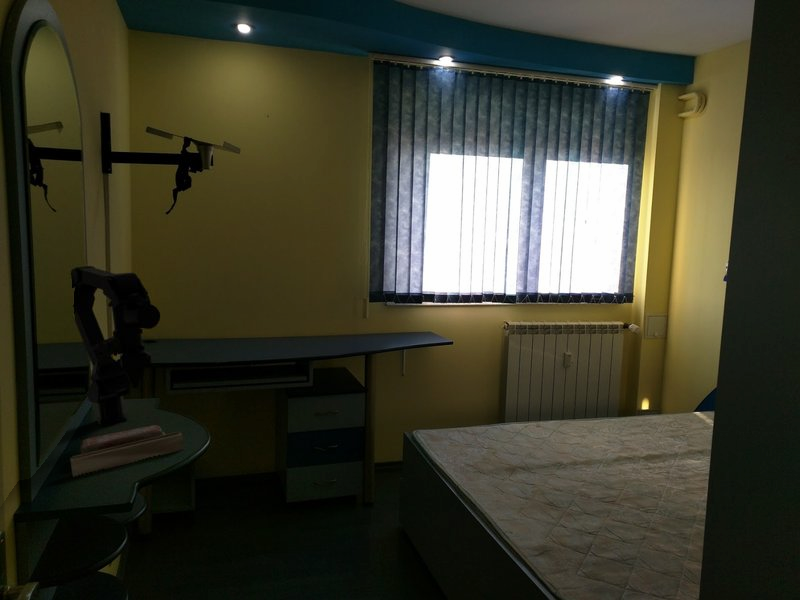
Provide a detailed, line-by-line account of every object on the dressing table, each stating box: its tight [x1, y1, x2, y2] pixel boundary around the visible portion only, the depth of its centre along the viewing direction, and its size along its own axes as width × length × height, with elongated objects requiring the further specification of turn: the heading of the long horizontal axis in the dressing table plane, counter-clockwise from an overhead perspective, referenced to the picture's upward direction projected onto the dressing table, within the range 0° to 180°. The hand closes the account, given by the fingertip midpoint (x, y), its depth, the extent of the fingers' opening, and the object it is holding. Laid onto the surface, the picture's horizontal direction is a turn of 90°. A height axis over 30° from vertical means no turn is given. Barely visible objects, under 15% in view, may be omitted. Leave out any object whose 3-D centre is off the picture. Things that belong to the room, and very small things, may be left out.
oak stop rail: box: [69, 431, 185, 478], centre depth 127 cm, size 2×22×4 cm, turn 122°
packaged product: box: [80, 424, 166, 454], centre depth 132 cm, size 18×5×10 cm
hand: (135, 387), depth 144 cm, fingers closed
